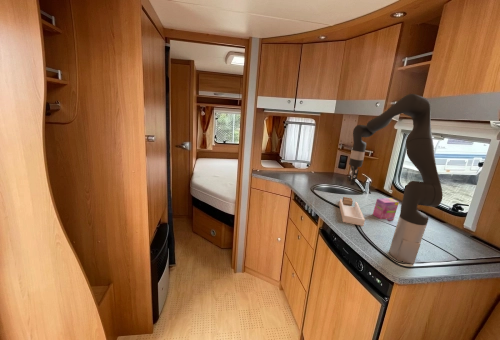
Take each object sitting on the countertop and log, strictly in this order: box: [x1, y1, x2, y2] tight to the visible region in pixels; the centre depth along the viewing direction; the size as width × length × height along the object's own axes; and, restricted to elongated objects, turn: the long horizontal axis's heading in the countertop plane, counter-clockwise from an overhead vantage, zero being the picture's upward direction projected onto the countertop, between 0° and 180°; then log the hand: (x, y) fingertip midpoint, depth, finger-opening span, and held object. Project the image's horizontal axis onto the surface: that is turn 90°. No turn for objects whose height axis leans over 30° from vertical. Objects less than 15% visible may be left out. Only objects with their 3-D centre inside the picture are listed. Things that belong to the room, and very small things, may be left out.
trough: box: [338, 198, 366, 227], centre depth 127 cm, size 25×10×5 cm, turn 163°
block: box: [342, 196, 353, 207], centre depth 142 cm, size 5×5×5 cm
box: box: [372, 197, 400, 221], centre depth 127 cm, size 10×6×12 cm, turn 105°
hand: (351, 183), depth 139 cm, fingers open, 8 cm apart
